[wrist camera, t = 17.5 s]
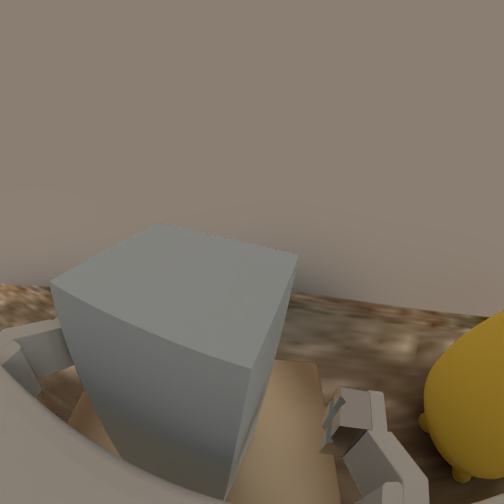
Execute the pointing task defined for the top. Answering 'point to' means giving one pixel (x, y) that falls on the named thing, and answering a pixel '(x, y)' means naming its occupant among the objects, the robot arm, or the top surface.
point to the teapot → (469, 402)
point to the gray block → (177, 347)
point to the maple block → (267, 442)
